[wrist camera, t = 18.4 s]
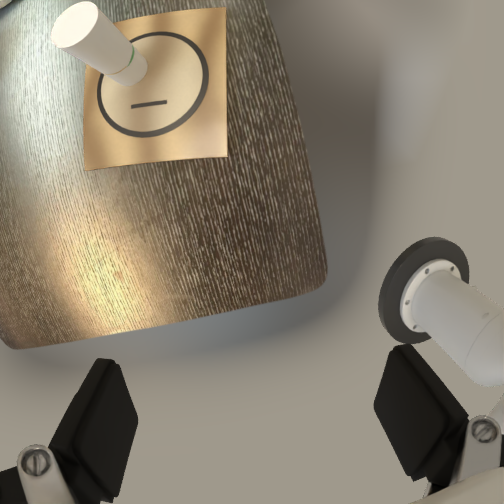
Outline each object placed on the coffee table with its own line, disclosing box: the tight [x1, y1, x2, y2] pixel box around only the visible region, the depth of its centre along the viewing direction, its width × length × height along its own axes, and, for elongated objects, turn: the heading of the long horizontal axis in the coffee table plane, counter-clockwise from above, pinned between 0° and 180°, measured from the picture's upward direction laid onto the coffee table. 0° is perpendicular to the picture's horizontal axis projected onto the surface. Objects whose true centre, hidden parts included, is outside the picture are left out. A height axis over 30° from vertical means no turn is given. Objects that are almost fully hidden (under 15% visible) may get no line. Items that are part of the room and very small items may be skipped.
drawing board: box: [83, 7, 228, 171], centre depth 29 cm, size 18×20×2 cm
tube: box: [51, 2, 148, 86], centre depth 21 cm, size 4×4×15 cm
